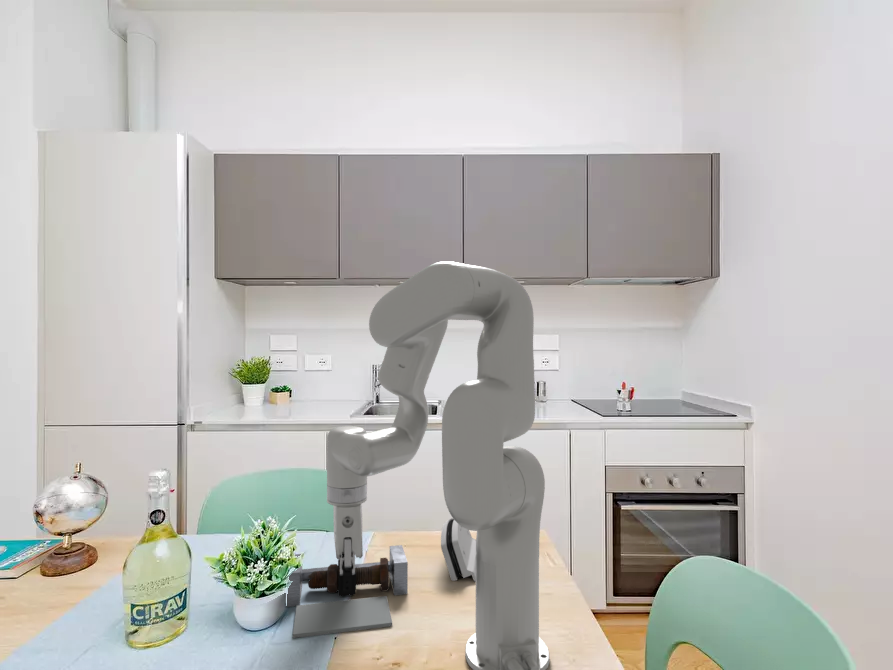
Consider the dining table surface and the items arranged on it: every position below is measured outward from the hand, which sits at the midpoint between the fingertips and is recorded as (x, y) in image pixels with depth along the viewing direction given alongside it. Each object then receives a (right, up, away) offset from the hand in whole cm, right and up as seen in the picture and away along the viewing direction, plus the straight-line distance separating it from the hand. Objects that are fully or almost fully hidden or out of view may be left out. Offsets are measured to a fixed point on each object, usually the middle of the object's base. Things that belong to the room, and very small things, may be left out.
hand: (346, 586), depth 99 cm
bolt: (0, -1, 0) cm, 1 cm away
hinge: (+22, -1, +12) cm, 25 cm away
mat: (+1, -1, -10) cm, 10 cm away
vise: (0, -1, +1) cm, 2 cm away
